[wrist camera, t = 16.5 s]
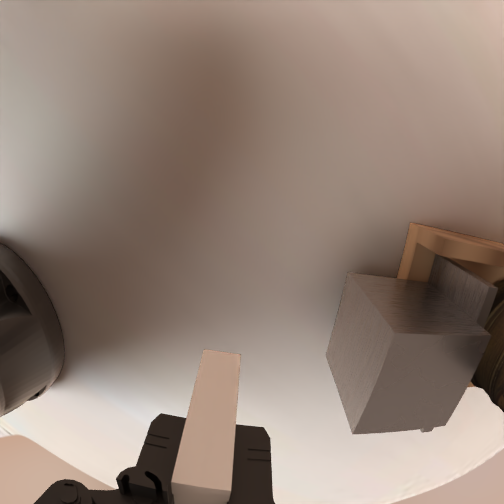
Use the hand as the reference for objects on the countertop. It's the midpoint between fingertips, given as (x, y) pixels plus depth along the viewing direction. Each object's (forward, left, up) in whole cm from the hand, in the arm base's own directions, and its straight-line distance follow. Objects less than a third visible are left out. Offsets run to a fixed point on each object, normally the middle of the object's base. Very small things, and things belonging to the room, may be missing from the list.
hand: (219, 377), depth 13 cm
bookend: (+10, 0, -7) cm, 12 cm away
